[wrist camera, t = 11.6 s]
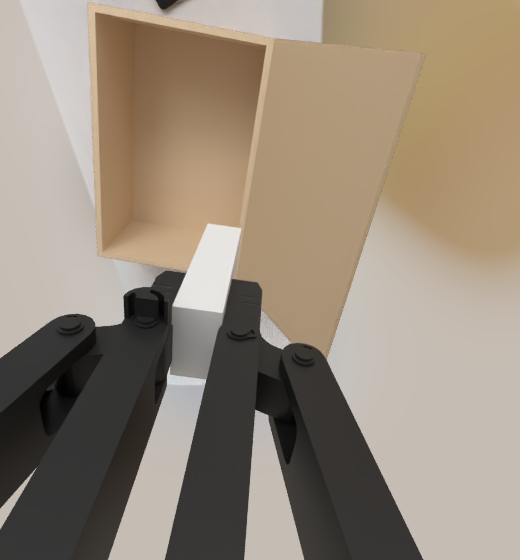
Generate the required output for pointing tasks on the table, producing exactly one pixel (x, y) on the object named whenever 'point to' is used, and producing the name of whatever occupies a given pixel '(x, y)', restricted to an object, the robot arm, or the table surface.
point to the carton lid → (320, 177)
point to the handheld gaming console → (165, 3)
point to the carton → (171, 131)
